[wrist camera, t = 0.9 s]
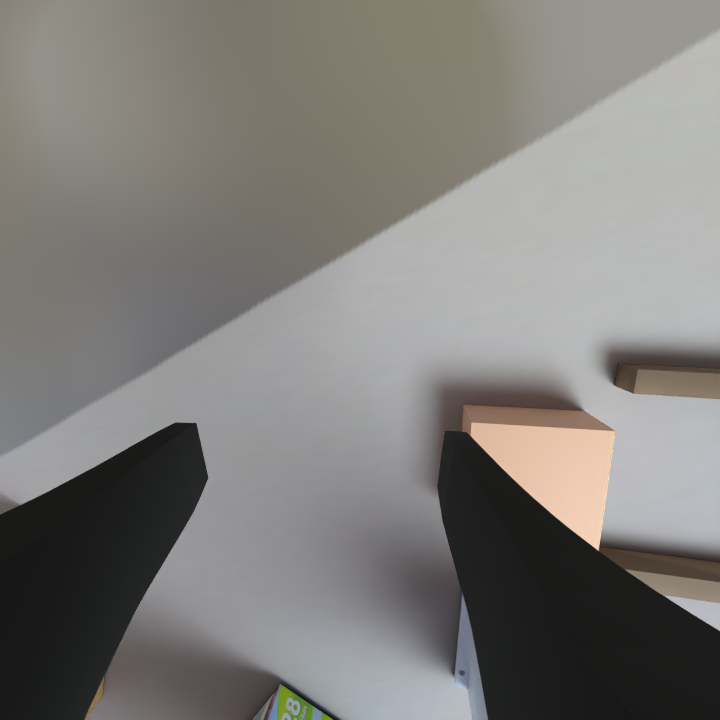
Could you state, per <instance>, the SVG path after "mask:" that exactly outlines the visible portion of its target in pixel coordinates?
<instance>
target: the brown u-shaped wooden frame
mask: <svg viewBox="0 0 720 720" xmlns="http://www.w3.org/2000/svg"><path fill="white" fill-rule="evenodd" d="M615 386H617V387H619V388H622V389H624V390H626V391H629V392H631V393H633V394H648V395H664V396H680V397H695V398H711V399H720V369H717V368H697V367H677V366H658V365H638V364H619V363H618V369H617V375H616V381H615ZM599 552H601V553H602V554H604V555H605V556H606V557H608V558H609V559H611V560H612V561H613V562H615V563H616V564H617V565H619V566H620V567H622V568H623V569H625V570H626V571H628V572H629V573H630V574H632V575H633V576H635V577H636V578H638V579H639V580H641V581H642V582H644V583H645V584H647V585H648V586H649V587H651V588H652V589H654V590H655V591H657V592H658V593H660V594H661V595H667V596H674V597H681V598H688V599H694V600H701V601H708V602H715V603H720V562H714V561H706V560H698V559H690V558H683V557H675V556H667V555H659V554H651V553H644V552H636V551H628V550H620V549H613V548H605V547H599Z"/></svg>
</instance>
